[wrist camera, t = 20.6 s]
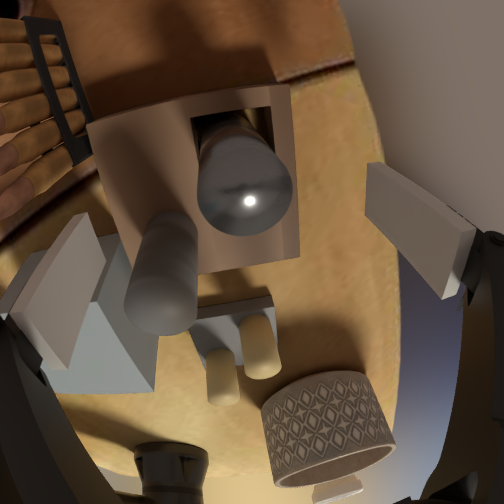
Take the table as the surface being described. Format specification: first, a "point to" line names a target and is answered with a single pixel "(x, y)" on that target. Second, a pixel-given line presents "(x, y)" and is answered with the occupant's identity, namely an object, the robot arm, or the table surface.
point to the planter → (324, 429)
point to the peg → (240, 178)
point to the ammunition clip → (39, 108)
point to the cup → (336, 489)
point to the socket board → (183, 200)
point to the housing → (100, 332)
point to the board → (236, 345)
